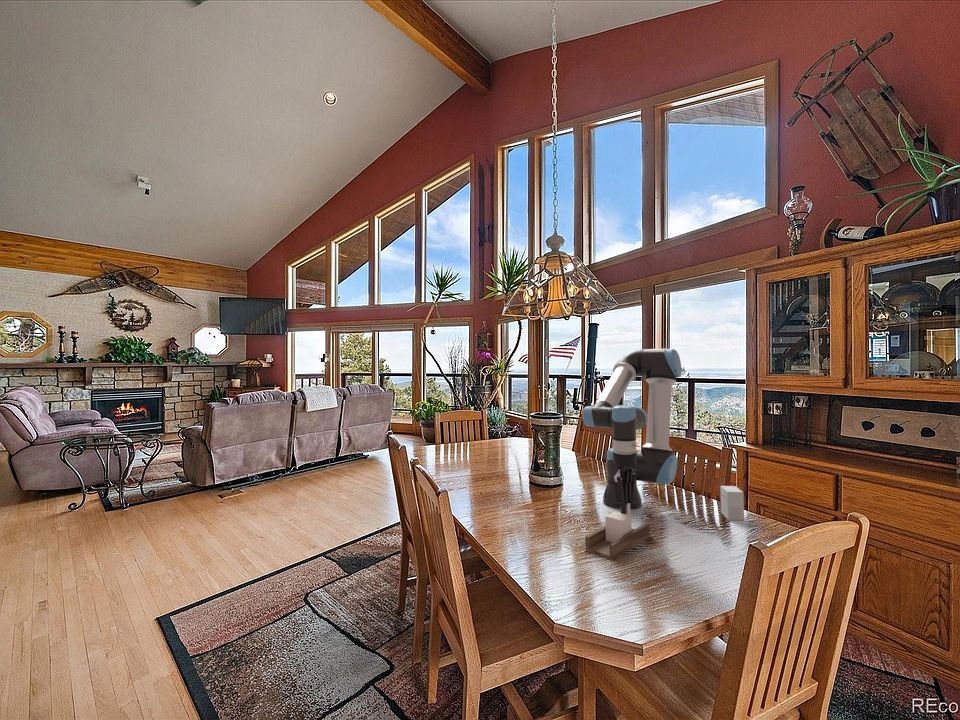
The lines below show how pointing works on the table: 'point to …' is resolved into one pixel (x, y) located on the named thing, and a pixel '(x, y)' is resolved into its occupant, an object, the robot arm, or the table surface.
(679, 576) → the table surface
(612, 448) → the robot arm
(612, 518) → the block
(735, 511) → the small box
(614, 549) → the chute
